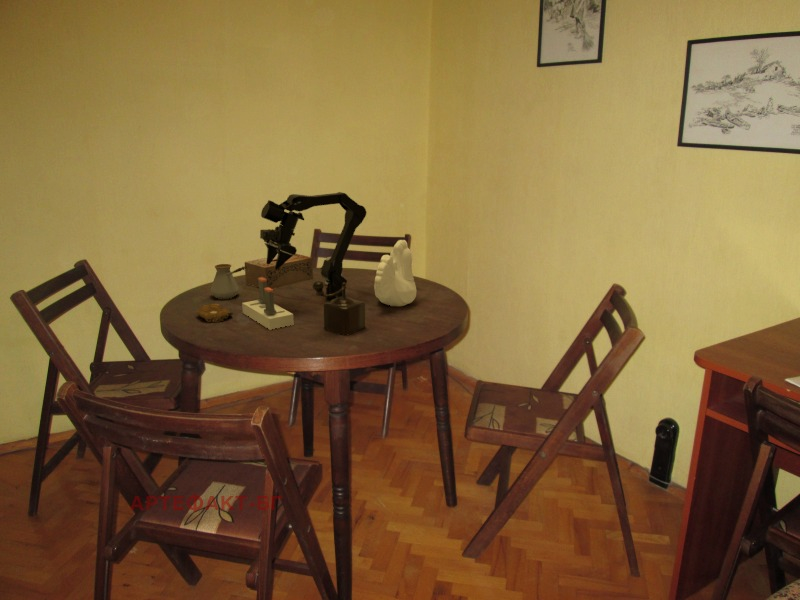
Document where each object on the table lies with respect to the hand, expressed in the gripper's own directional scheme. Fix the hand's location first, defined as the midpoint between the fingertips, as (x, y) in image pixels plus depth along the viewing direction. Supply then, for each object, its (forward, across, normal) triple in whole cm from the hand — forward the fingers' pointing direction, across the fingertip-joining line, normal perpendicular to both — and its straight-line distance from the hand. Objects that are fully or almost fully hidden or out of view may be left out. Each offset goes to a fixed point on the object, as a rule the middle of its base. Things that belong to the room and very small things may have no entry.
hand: (271, 266), depth 226 cm
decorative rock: (+25, -2, -13) cm, 28 cm away
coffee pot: (+19, -21, -2) cm, 28 cm away
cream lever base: (+18, +10, +1) cm, 20 cm away
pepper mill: (+11, +34, +17) cm, 40 cm away
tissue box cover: (+9, -37, +22) cm, 44 cm away
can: (+1, -20, +38) cm, 43 cm away
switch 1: (+13, +3, +1) cm, 14 cm away
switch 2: (+14, +18, -2) cm, 23 cm away
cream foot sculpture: (-2, +18, +44) cm, 47 cm away
